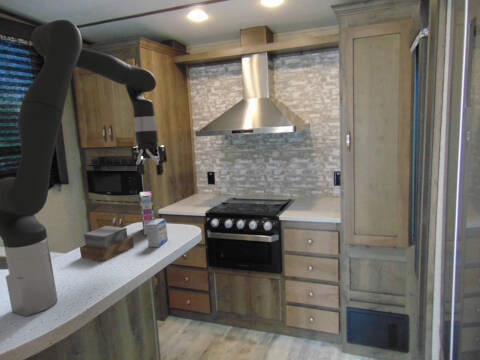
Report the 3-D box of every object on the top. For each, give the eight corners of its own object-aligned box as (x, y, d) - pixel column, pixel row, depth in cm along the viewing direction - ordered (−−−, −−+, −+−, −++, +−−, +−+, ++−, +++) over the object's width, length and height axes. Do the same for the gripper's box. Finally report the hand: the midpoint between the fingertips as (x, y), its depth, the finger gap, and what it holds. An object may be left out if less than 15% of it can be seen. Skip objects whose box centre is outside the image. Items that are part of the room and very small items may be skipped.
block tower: (103, 261, 114) (100, 238, 113) (81, 257, 119) (78, 235, 118) (133, 247, 126) (131, 226, 125) (112, 244, 131) (109, 224, 130)
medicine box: (159, 247, 125) (156, 224, 123) (148, 247, 125) (145, 224, 124) (168, 240, 132) (165, 218, 131) (157, 239, 133) (155, 218, 132)
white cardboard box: (156, 234, 140) (152, 195, 138) (143, 236, 139) (139, 196, 136) (154, 226, 151) (150, 190, 148) (143, 228, 149) (138, 191, 147)
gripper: (123, 131, 122) (128, 176, 124) (154, 129, 115) (159, 176, 118) (138, 130, 128) (143, 173, 131) (168, 128, 122) (173, 173, 125)
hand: (150, 174), depth 124 cm, fingers open, 8 cm apart
